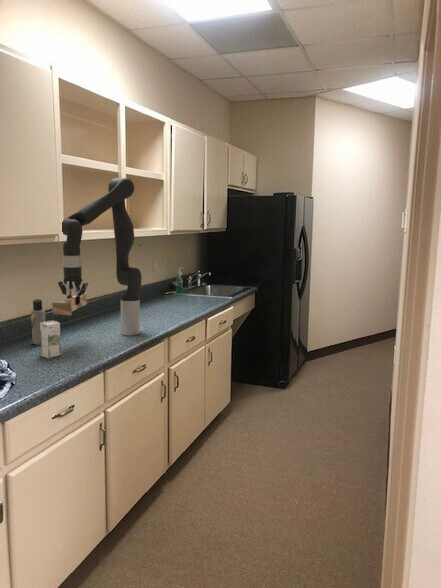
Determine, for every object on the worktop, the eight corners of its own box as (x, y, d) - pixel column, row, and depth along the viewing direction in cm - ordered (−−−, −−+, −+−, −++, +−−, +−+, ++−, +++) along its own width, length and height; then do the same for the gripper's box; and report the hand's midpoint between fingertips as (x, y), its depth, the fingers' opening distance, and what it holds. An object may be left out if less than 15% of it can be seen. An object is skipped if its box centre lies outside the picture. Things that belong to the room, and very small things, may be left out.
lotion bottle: (47, 341, 210) (46, 298, 207) (43, 344, 205) (41, 301, 201) (35, 341, 210) (33, 298, 207) (30, 344, 205) (28, 301, 201)
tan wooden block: (76, 303, 212) (76, 292, 211) (92, 304, 210) (91, 293, 209) (53, 314, 193) (52, 302, 192) (70, 315, 192) (69, 303, 191)
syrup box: (53, 353, 194) (52, 319, 191) (61, 355, 190) (60, 322, 187) (41, 356, 189) (39, 322, 187) (48, 359, 186) (47, 324, 183)
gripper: (91, 265, 201) (92, 303, 204) (62, 264, 204) (64, 301, 207) (82, 267, 194) (84, 307, 197) (53, 265, 197) (54, 305, 200)
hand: (73, 304), depth 202 cm, fingers closed on tan wooden block, 3 cm apart
